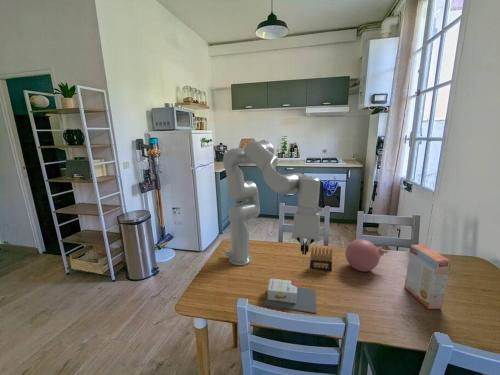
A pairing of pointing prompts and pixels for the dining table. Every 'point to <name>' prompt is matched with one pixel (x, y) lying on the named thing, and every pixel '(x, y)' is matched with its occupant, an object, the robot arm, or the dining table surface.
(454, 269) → the dining table surface
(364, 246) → the pink balloon
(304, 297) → the mat
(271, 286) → the ink box
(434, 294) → the cracker box
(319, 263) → the ammunition clip
